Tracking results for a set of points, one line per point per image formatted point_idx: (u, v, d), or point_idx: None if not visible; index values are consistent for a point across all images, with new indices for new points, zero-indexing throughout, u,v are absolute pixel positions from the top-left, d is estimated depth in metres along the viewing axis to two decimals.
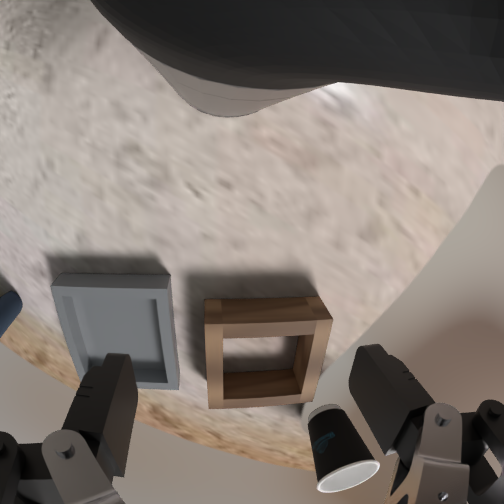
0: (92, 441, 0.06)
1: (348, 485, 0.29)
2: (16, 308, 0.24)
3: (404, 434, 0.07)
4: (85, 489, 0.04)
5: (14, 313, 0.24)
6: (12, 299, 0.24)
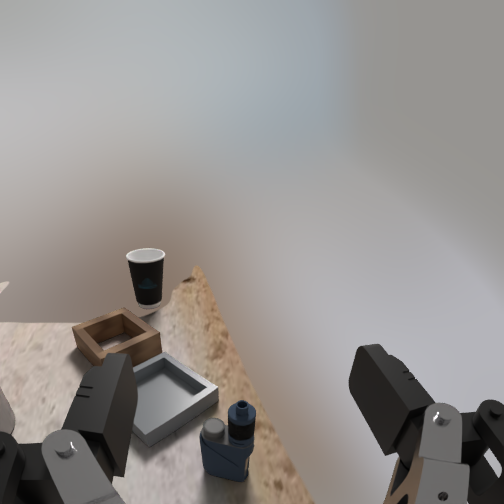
0: (92, 441, 0.06)
1: (156, 250, 0.63)
2: None
3: (404, 434, 0.07)
4: (85, 489, 0.04)
5: None
6: None
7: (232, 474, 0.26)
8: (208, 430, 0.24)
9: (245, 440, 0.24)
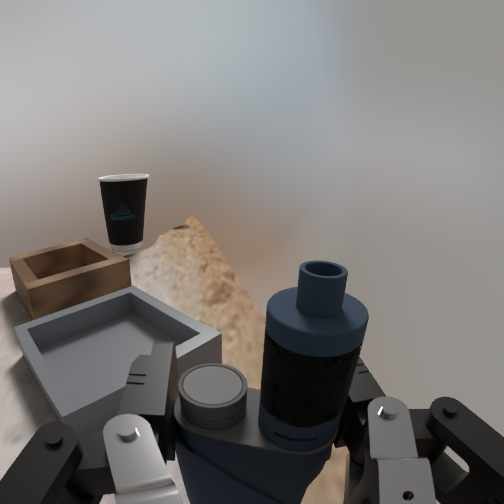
0: (151, 425, 0.07)
1: (138, 176, 0.46)
2: None
3: (351, 427, 0.08)
4: (157, 469, 0.05)
5: None
6: None
7: None
8: (194, 398, 0.08)
9: (322, 426, 0.07)
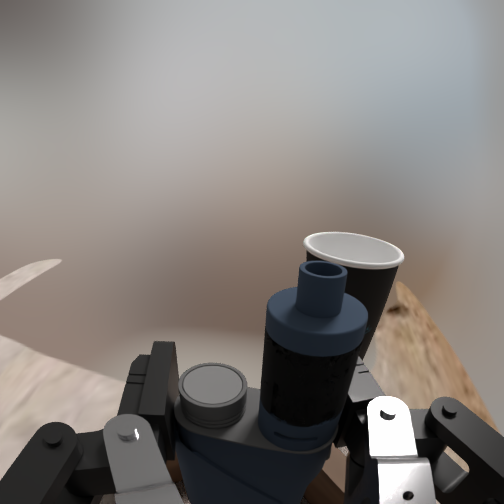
0: (151, 425, 0.07)
1: (371, 241, 0.25)
2: None
3: (351, 427, 0.08)
4: (157, 469, 0.05)
5: None
6: None
7: None
8: (194, 398, 0.08)
9: (322, 426, 0.07)
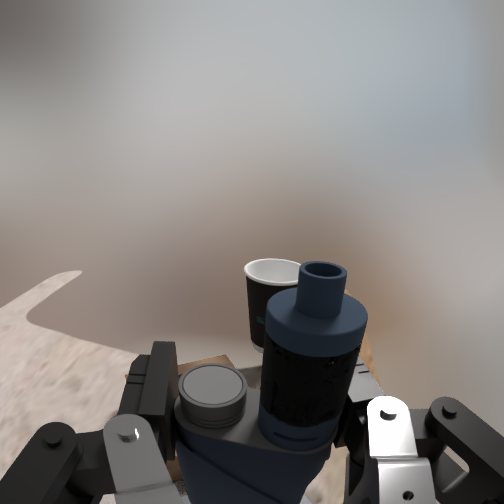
0: (151, 425, 0.07)
1: (294, 265, 0.40)
2: None
3: (351, 427, 0.08)
4: (157, 469, 0.05)
5: None
6: None
7: None
8: (194, 398, 0.08)
9: (321, 426, 0.07)
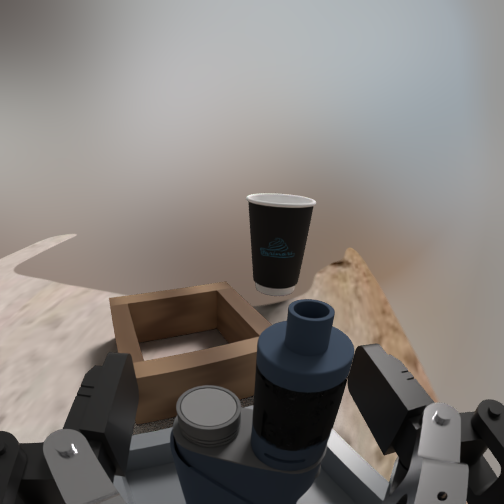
0: (93, 440, 0.06)
1: (299, 199, 0.38)
2: None
3: (403, 434, 0.07)
4: (87, 488, 0.04)
5: None
6: None
7: None
8: (191, 420, 0.08)
9: (309, 449, 0.07)
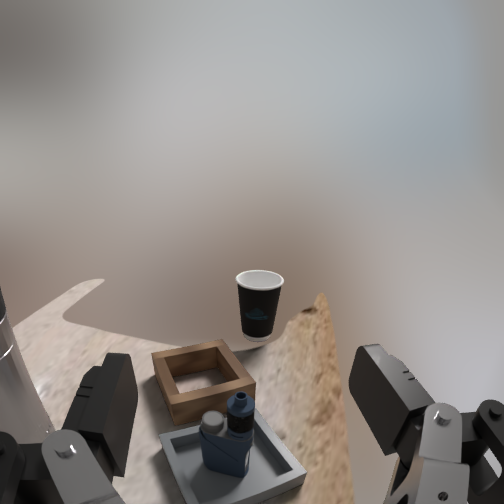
0: (92, 441, 0.06)
1: (273, 275, 0.54)
2: None
3: (404, 434, 0.07)
4: (85, 489, 0.04)
5: None
6: (202, 457, 0.27)
7: (232, 469, 0.25)
8: (207, 423, 0.24)
9: (244, 433, 0.24)
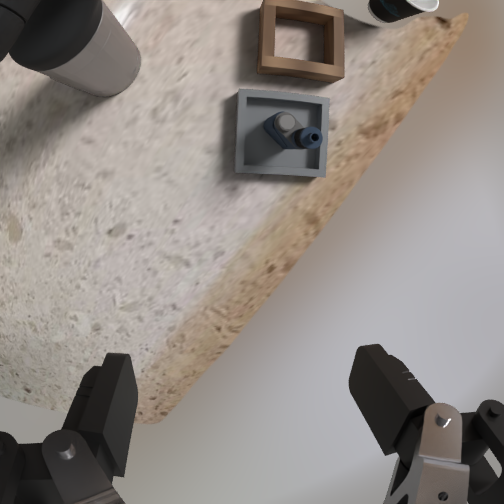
0: (92, 441, 0.06)
1: None
2: None
3: (404, 434, 0.07)
4: (85, 489, 0.04)
5: None
6: (265, 122, 0.38)
7: (280, 143, 0.39)
8: (281, 124, 0.32)
9: (302, 147, 0.33)
